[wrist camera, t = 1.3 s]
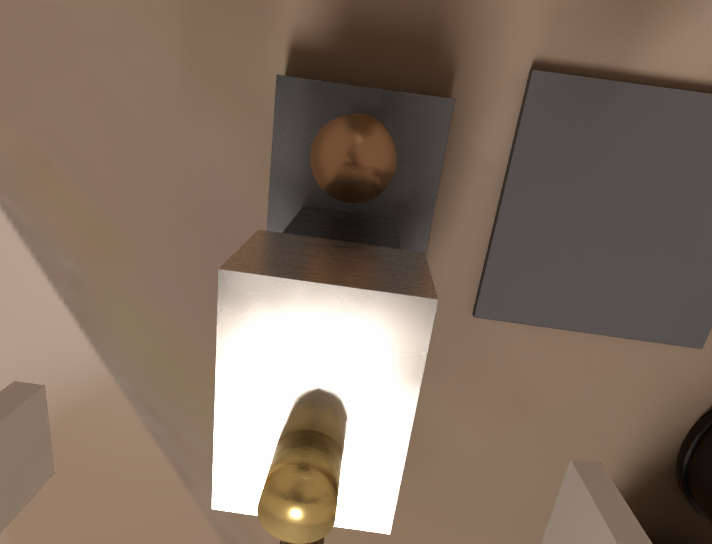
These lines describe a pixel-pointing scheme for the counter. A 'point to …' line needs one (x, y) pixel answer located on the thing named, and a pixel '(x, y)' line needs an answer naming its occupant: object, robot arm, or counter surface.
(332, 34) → the counter surface
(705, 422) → the french press
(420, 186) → the grey stand
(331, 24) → the counter surface
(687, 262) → the mat
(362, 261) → the white box with knob
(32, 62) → the counter surface
